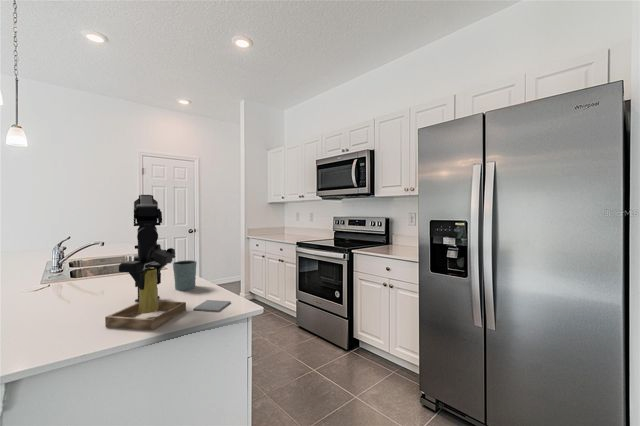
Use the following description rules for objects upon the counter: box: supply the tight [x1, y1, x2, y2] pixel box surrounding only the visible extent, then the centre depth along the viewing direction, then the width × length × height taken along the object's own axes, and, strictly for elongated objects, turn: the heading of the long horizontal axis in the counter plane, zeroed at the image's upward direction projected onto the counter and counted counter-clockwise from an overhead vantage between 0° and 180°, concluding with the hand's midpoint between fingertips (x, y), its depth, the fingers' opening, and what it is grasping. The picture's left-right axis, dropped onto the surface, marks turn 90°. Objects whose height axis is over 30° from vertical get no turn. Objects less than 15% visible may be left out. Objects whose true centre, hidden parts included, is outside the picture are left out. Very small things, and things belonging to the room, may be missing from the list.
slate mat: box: [192, 299, 231, 313], centre depth 114 cm, size 10×10×1 cm
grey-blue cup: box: [172, 259, 197, 291], centre depth 138 cm, size 10×10×12 cm
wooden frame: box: [104, 300, 187, 331], centre depth 102 cm, size 17×17×3 cm
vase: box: [137, 268, 159, 315], centre depth 102 cm, size 6×6×14 cm
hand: (148, 287), depth 102 cm, fingers closed on vase, 5 cm apart
